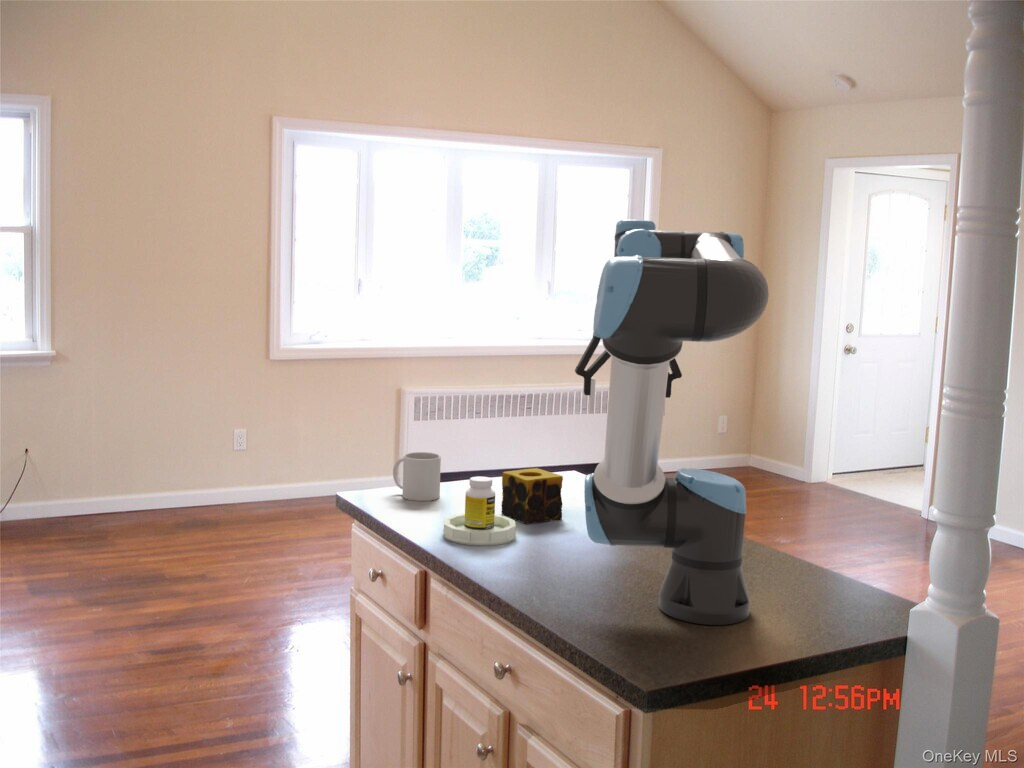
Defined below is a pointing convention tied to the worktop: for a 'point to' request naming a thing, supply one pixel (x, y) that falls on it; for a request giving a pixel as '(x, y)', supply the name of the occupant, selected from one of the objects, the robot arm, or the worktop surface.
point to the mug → (419, 476)
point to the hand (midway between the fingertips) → (626, 413)
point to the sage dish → (459, 534)
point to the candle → (532, 495)
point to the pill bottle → (480, 505)
